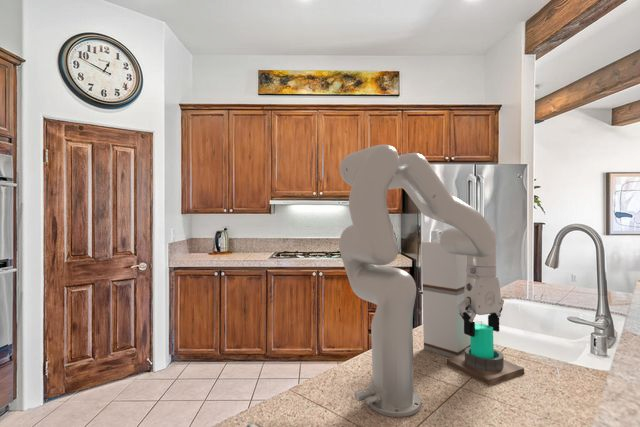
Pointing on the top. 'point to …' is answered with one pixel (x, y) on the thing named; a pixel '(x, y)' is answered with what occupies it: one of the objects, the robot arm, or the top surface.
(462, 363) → the candle stand
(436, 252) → the tall banded pillar
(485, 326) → the candle
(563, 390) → the top surface
